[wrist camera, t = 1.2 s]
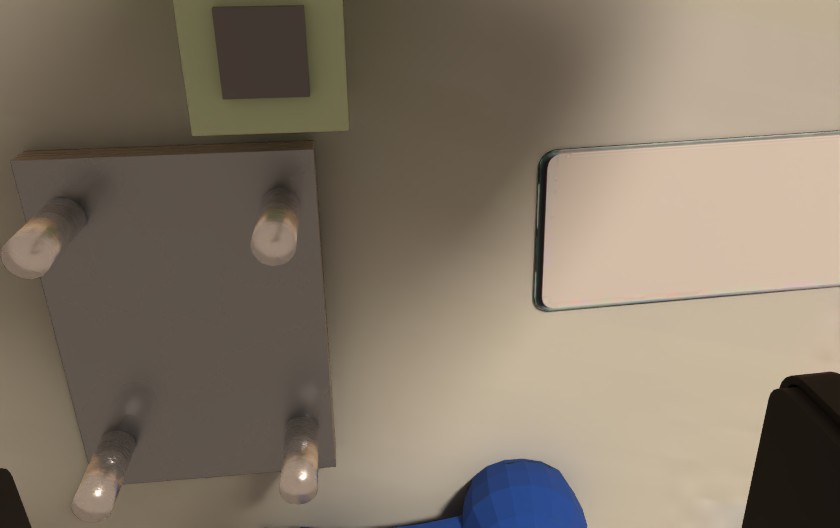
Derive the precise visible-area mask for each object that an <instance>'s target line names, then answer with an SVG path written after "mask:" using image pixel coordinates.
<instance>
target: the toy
mask: <svg viewBox="0 0 840 528" xmlns="http://www.w3.org/2000/svg"><path fill="white" fill-rule="evenodd" d="M301 528H309V527H301ZM395 528H587V523H586V520H585V516H584V513H583V510H582V507H581V506H580V504H579V502H578V500H577V498H576V496H575V494H574V492H573V491H572V489H571V488H570V486H569V485H568V483H567V482H566V480H565V479H564V477H563V476H562V474H561V473H560V471H559V470H557V469H555V468H553V467H551V466H549V465H547V464H545V463H543V462H541V461H534V460H527V459H514V460H503V461H501V462H498V463H495V464H492V465H490V466H487V467H486V468H484V469H483V470H482V471H480V472H479V473H478V474H477V475H475V476H474V477H473V479H472V481H471V483H470V485H469V487H468V489H467V491H466V495H465V500H464V506H463V515H462V516H457V517H453V518H448V519H443V520H438V521H433V522H429V523H424V524H417V525H410V526H402V527H395Z"/></svg>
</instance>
